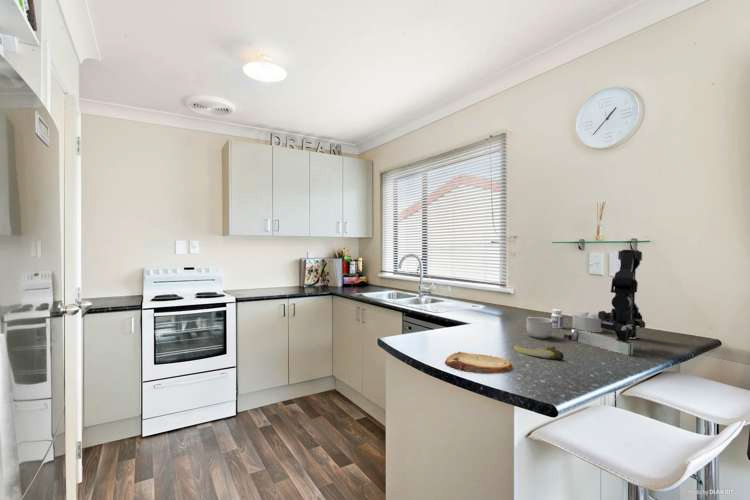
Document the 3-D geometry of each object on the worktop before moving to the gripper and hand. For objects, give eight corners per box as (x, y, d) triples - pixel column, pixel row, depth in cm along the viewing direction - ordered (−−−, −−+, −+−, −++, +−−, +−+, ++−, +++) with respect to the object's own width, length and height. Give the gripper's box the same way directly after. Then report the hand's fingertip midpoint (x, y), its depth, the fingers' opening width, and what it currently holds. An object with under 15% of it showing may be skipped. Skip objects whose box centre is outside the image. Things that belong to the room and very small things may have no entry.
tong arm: (581, 341, 152) (581, 330, 152) (582, 340, 153) (582, 330, 153) (631, 355, 133) (631, 343, 133) (632, 354, 134) (633, 342, 134)
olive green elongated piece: (568, 358, 129) (568, 348, 129) (557, 364, 123) (557, 354, 123) (517, 347, 144) (517, 338, 144) (504, 351, 137) (504, 343, 137)
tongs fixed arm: (563, 338, 157) (563, 328, 157) (570, 337, 158) (570, 327, 158) (625, 355, 132) (625, 343, 132) (632, 354, 134) (632, 342, 134)
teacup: (556, 340, 153) (557, 322, 153) (531, 339, 153) (532, 321, 153) (542, 332, 167) (542, 315, 167) (519, 332, 167) (519, 315, 167)
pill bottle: (560, 326, 181) (560, 309, 181) (564, 328, 176) (564, 311, 176) (549, 326, 181) (549, 308, 181) (553, 328, 176) (553, 310, 176)
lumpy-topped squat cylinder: (584, 326, 182) (585, 309, 182) (608, 332, 170) (609, 314, 170) (569, 327, 179) (569, 310, 179) (592, 333, 167) (593, 315, 166)
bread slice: (517, 369, 116) (518, 357, 116) (484, 381, 105) (485, 368, 105) (472, 355, 131) (472, 345, 131) (439, 364, 120) (439, 353, 120)
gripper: (618, 302, 152) (617, 338, 153) (588, 304, 145) (587, 342, 146) (646, 307, 142) (645, 345, 142) (615, 309, 135) (614, 350, 135)
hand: (622, 345), depth 142 cm, fingers closed
